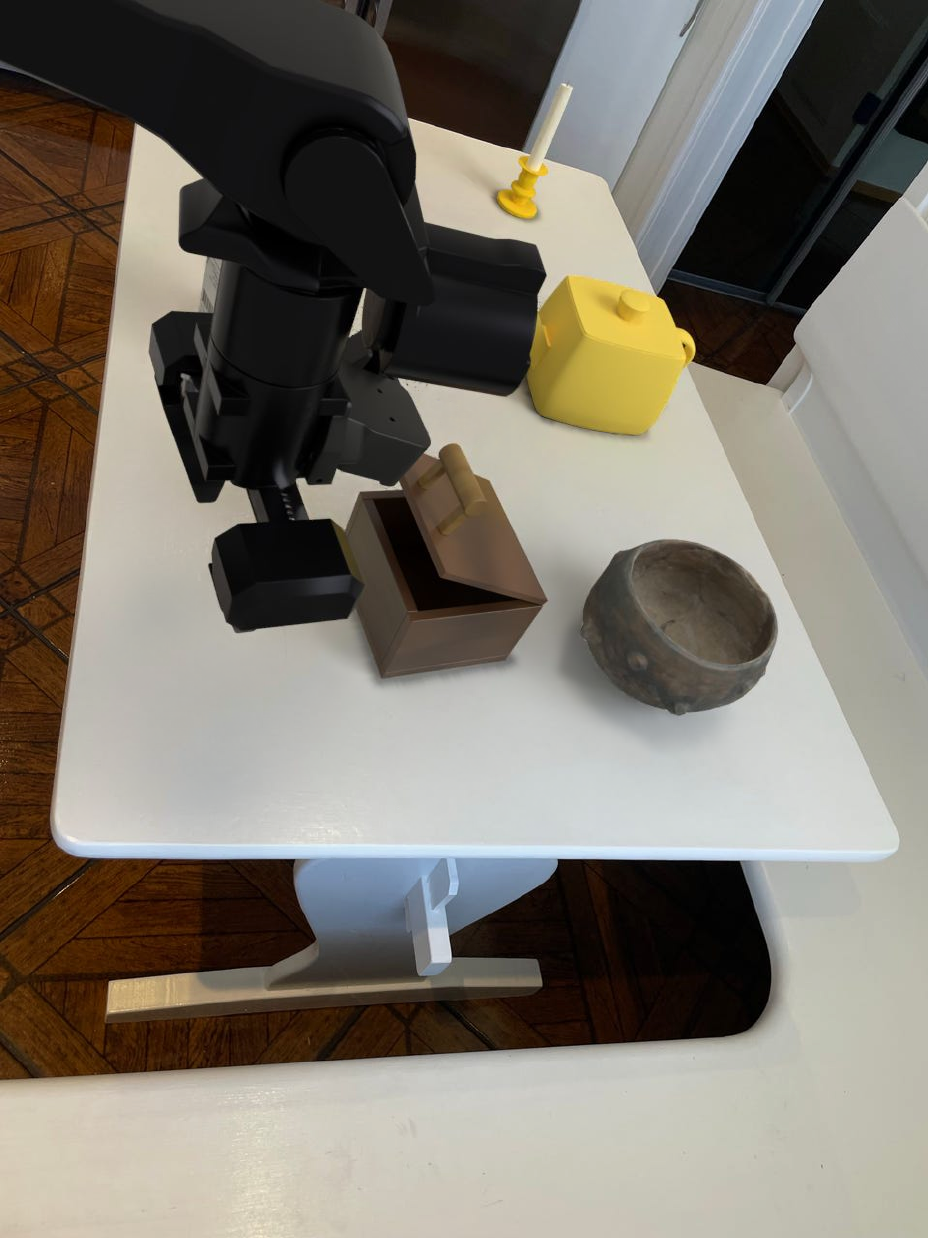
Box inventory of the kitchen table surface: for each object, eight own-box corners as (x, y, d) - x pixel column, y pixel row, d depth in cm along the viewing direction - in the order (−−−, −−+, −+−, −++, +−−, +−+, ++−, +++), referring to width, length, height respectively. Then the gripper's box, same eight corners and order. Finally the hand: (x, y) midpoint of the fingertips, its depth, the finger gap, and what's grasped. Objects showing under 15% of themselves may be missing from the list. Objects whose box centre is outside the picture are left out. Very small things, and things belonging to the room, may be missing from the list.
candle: (491, 189, 116) (541, 62, 104) (527, 196, 118) (581, 72, 106) (504, 215, 113) (557, 87, 101) (540, 221, 115) (597, 97, 104)
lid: (439, 577, 58) (488, 535, 56) (382, 443, 64) (424, 400, 62) (542, 605, 67) (588, 569, 65) (484, 484, 72) (524, 448, 70)
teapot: (494, 414, 90) (544, 314, 81) (477, 332, 97) (521, 232, 88) (670, 448, 97) (734, 360, 88) (643, 369, 104) (699, 280, 95)
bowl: (748, 724, 77) (824, 659, 70) (602, 761, 70) (670, 693, 62) (669, 590, 84) (731, 518, 76) (527, 611, 76) (581, 533, 69)
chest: (381, 679, 67) (411, 622, 62) (335, 553, 73) (359, 490, 67) (505, 660, 72) (543, 606, 67) (453, 544, 78) (485, 485, 72)
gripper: (514, 496, 40) (407, 683, 52) (380, 227, 49) (314, 440, 60) (262, 509, 35) (206, 714, 46) (161, 204, 43) (135, 442, 55)
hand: (224, 562), depth 52 cm, fingers open, 9 cm apart
